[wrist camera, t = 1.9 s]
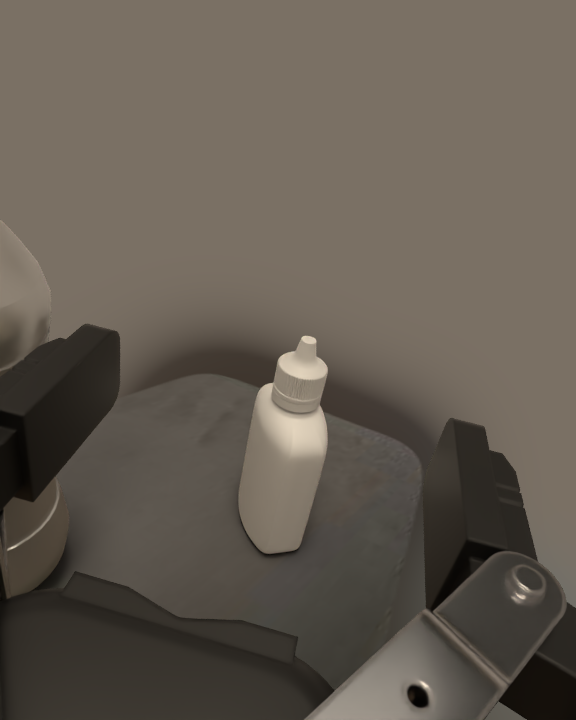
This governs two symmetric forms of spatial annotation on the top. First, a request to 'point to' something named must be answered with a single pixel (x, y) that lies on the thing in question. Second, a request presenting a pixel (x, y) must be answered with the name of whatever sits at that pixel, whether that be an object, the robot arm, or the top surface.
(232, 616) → the top surface
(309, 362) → the eye dropper bottle
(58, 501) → the plastic bottle
